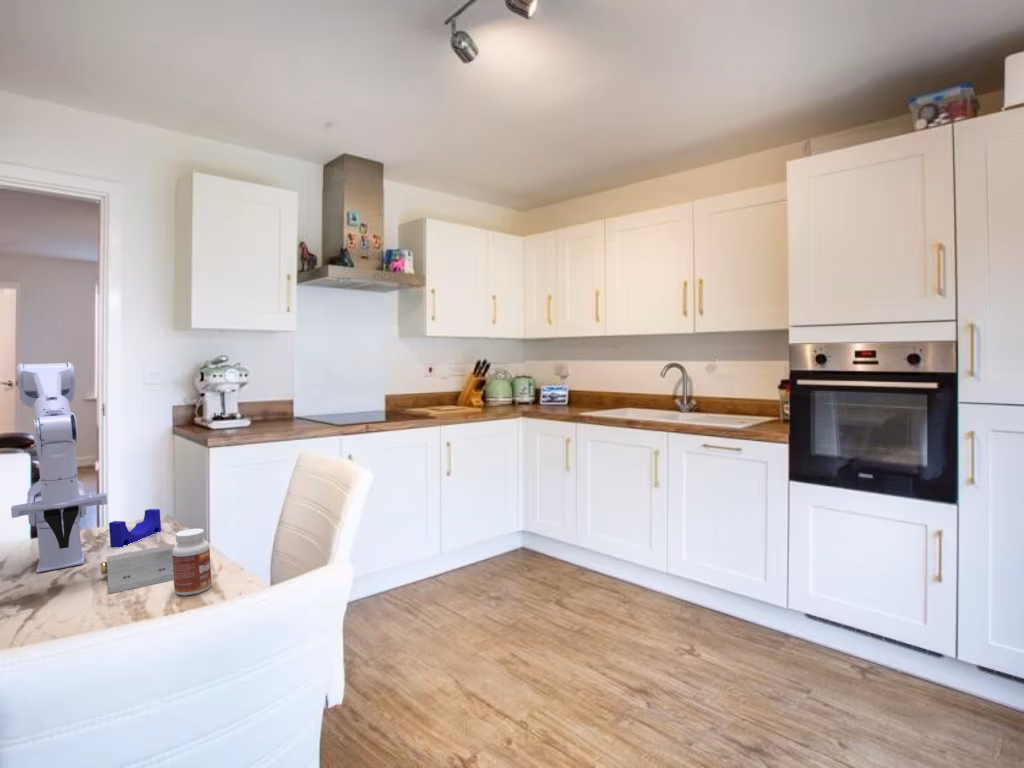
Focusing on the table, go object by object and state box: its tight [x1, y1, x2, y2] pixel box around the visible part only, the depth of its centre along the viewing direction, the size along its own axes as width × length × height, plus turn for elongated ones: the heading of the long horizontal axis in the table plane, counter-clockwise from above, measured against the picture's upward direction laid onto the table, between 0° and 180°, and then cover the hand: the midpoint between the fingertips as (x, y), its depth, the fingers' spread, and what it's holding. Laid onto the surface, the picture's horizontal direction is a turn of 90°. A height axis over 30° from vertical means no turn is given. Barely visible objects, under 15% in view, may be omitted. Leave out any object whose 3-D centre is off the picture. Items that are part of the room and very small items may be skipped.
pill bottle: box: [172, 528, 212, 597], centre depth 110 cm, size 6×6×11 cm
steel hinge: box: [105, 543, 176, 594], centre depth 121 cm, size 12×20×4 cm, turn 35°
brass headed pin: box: [100, 561, 108, 575], centre depth 120 cm, size 13×2×2 cm, turn 125°
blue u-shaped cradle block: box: [108, 508, 162, 548], centre depth 143 cm, size 12×4×6 cm, turn 170°
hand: (64, 546), depth 113 cm, fingers closed
